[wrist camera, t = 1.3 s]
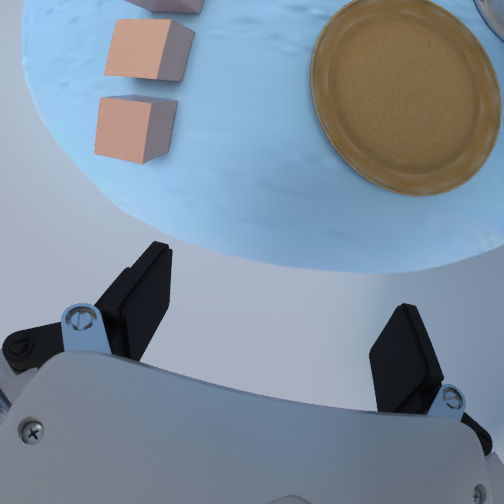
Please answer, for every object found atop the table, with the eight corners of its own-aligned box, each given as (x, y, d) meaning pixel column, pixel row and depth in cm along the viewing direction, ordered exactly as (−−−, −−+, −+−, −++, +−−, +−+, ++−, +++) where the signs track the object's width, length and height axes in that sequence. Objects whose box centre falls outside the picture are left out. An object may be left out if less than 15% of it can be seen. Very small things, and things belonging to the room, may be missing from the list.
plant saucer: (456, -3, 18) (468, -9, 16) (499, 169, 28) (512, 176, 26) (278, 20, 25) (275, 12, 23) (343, 207, 35) (347, 218, 33)
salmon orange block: (132, 94, 31) (100, 97, 25) (178, 100, 31) (151, 103, 25) (125, 142, 35) (94, 153, 29) (168, 151, 35) (142, 164, 29)
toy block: (146, 29, 27) (116, 19, 21) (194, 31, 27) (171, 19, 21) (135, 76, 30) (104, 75, 24) (182, 81, 30) (156, 79, 24)
